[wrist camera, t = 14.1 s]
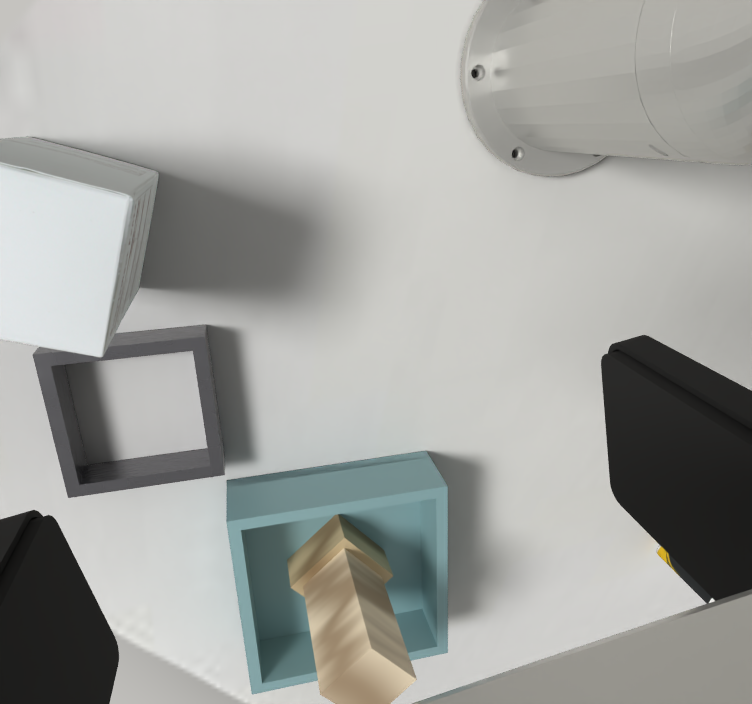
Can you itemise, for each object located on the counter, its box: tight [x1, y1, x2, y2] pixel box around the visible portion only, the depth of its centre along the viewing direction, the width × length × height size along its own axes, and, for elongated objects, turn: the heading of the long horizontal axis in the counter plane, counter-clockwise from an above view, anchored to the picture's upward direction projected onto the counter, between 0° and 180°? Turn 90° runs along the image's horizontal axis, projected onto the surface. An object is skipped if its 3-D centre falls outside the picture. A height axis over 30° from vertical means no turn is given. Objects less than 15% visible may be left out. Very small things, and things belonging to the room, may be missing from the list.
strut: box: [287, 514, 417, 704], centre depth 41 cm, size 5×5×12 cm
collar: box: [33, 325, 225, 498], centre depth 39 cm, size 10×10×2 cm
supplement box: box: [0, 136, 159, 357], centre depth 30 cm, size 7×7×13 cm
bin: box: [227, 451, 448, 694], centre depth 45 cm, size 15×15×5 cm
